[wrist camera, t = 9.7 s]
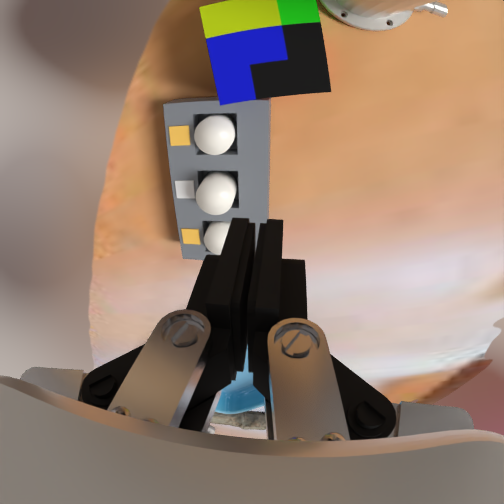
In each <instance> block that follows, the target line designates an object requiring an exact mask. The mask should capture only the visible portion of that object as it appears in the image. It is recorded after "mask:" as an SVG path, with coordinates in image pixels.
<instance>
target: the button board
mask: <svg viewBox="0 0 504 504" xmlns="http://www.w3.org/2000/svg"><path fill="white" fill-rule="evenodd" d="M163 108H164V119H165V130H166V140H167V149H168V158H169V167H170V175H171V183H172V191H173V198H174V205H175V212H176V219H177V225H178V232H179V238H180V244H181V250H182V256H183V259H195V260H204V258H205V256H206V255H207V254H210V255H217V254H214V253H212V252H211V251H209V250H208V249H207V248H206V246H205V244H204V236H205V233H206V231H207V229H208V226H209V224H210V222H211V221H225V222H231V220H232V218H233V217H234V218H249V221H250V223H255V226H256V246H257V240H258V233H259V227H260V223H266V222H267V219H269V176H270V114H271V98H264V99H257V100H250V101H244V102H238V103H232V104H226V105H221V106H220V103H219V99H218V97H201V98H185V99H174V100H172V101H170V102H167V103H165V104H163ZM213 113H226V114H228V115H230V116H231V117H232V118H233V119H234V120H235V121H236V123H237V136H236V138H235V140H234V141H233V143H232V145H231V146H230V148H229V149H228V150H227V151H225V152H224V153H222V154H219V155H210V154H207V153H205V152H203V151H202V150H200V149H199V147H198V146H197V145H196V142H195V139H194V133H195V129H196V127H197V125H198V124H199V123H200V122H201V121H203V120H204V119H205V118H207V117H208V116H209V115H211V114H213ZM212 171H226V172H228V173H230V174H231V175H232V176H233V177H234V178H235V180H236V182H237V192H236V195H235V198H234V201H233V203H232V206H231V208H230V209H229V210H228V211H227V212H226V213H224V214H221V215H211V214H208V213H206V212H204V211H203V210H202V209H201V208H200V207H199V206H198V204H197V202H196V191H197V189H198V188H199V186H200V184H201V183H202V181H203V180H204V178H205V177H206V175H207V174H208V173H210V172H212ZM255 252H256V251H255Z"/></svg>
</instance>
